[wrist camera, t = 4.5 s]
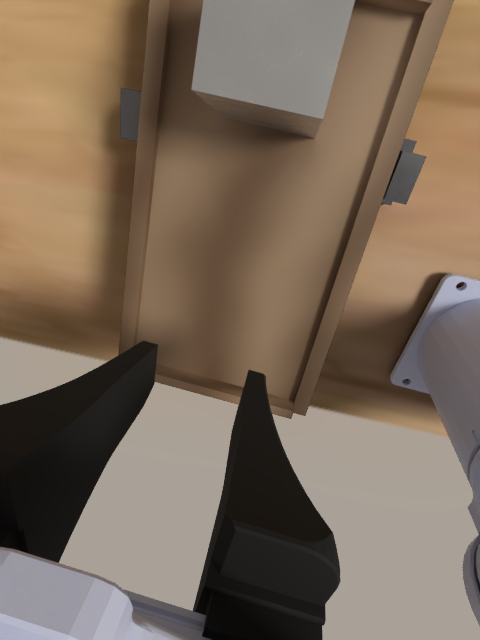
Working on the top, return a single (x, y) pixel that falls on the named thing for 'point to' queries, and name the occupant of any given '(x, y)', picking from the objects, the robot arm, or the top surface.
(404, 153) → the beam stand
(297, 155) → the balance beam
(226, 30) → the block
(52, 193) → the top surface
